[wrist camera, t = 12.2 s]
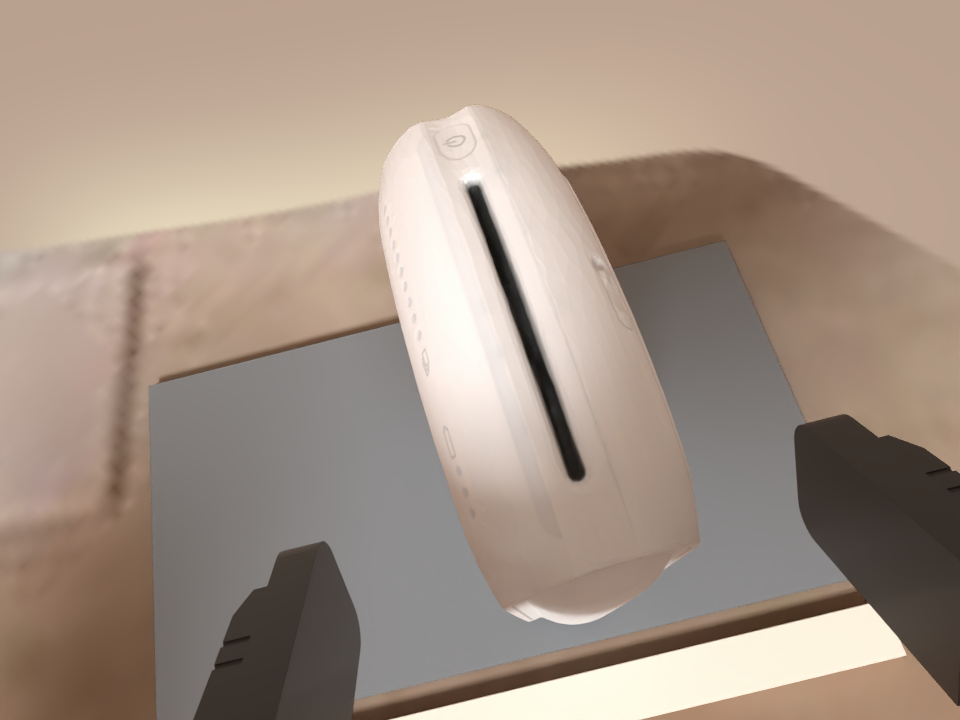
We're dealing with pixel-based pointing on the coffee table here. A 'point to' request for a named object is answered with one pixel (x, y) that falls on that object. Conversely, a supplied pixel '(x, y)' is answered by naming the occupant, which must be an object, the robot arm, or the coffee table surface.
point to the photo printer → (531, 372)
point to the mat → (441, 539)
